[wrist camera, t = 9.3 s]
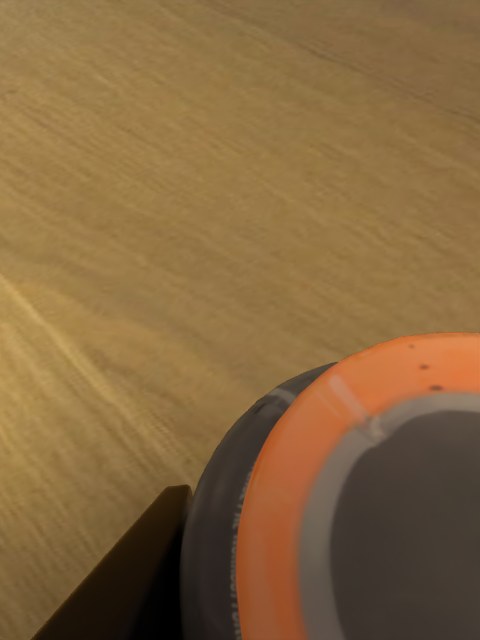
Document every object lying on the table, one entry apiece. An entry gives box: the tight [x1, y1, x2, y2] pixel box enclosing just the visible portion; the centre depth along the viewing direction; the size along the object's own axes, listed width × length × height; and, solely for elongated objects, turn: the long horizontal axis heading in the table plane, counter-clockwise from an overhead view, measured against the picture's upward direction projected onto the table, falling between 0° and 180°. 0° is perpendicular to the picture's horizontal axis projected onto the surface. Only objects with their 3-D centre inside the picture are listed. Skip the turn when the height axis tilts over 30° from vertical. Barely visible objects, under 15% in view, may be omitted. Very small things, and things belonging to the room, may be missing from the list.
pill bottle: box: [179, 332, 480, 640], centre depth 8 cm, size 6×6×11 cm
